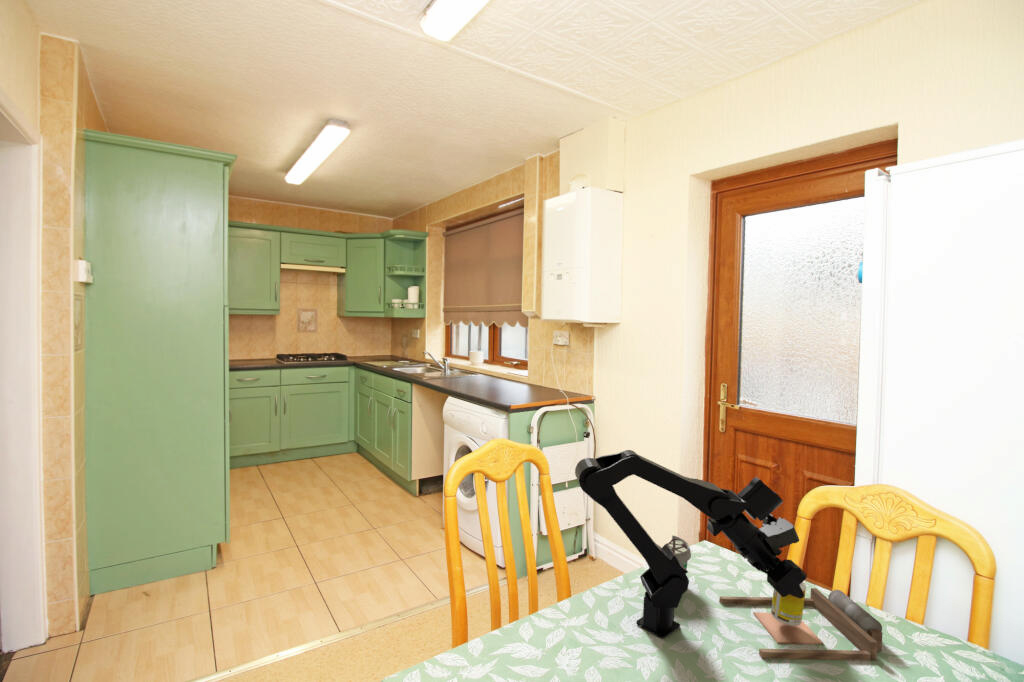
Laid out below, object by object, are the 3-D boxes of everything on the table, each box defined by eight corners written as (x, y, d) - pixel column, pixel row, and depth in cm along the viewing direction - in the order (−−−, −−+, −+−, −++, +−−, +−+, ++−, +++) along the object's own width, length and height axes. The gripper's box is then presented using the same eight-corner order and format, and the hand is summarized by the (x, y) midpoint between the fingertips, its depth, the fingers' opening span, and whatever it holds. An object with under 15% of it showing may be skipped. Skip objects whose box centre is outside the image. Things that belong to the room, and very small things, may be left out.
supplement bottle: (807, 626, 103) (814, 577, 102) (784, 628, 101) (790, 578, 101) (786, 610, 108) (793, 563, 108) (764, 611, 107) (770, 564, 106)
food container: (679, 604, 113) (681, 560, 112) (652, 594, 116) (654, 551, 116) (696, 582, 122) (698, 541, 122) (671, 573, 126) (673, 534, 126)
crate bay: (761, 658, 95) (762, 630, 95) (719, 601, 114) (720, 578, 114) (896, 660, 95) (898, 632, 95) (832, 603, 114) (833, 580, 114)
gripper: (799, 526, 94) (854, 586, 95) (751, 492, 113) (797, 542, 113) (754, 567, 95) (809, 626, 95) (714, 526, 113) (760, 576, 114)
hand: (794, 589), depth 104 cm, fingers closed on supplement bottle, 5 cm apart
